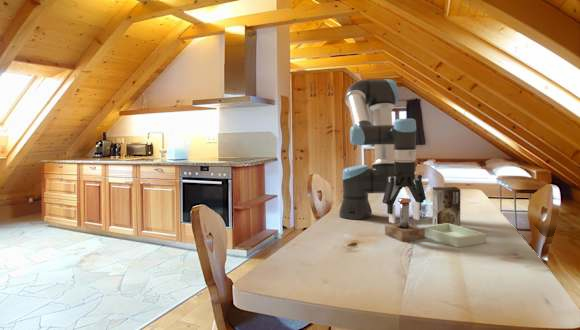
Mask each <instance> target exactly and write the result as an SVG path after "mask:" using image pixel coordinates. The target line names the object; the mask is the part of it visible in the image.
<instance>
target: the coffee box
mask: <svg viewBox="0 0 580 330" xmlns="http://www.w3.org/2000/svg"><path fill="white" fill-rule="evenodd" d="M444 223H450V224H453V225H457V226H461V189H460V188H458V187H456V186H436V187H435V186H433V187H432V225H437V224H444Z"/></svg>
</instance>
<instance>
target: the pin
mask: <svg viewBox="0 0 580 330" xmlns="http://www.w3.org/2000/svg"><path fill="white" fill-rule="evenodd" d="M397 202H398V203H399V224H400V228H401V229H409V224H410V203H412V199H411V198H407V197H403V198H401V197H400V198H398V201H397Z"/></svg>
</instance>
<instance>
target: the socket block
mask: <svg viewBox="0 0 580 330" xmlns="http://www.w3.org/2000/svg"><path fill="white" fill-rule="evenodd" d="M421 227H422V226H418V225H414V224H411V223H409V229H401V228H400V223H392V224H386V225H384V235H385V236H387V237H390V238H391V239H395V240H396V241H399V242H402V243H403V242H410V241H416V240H421V239H425V237H426V236H425V229H424V228H421Z"/></svg>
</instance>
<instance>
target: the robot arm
mask: <svg viewBox="0 0 580 330" xmlns="http://www.w3.org/2000/svg"><path fill="white" fill-rule="evenodd" d="M398 101H399V88H398V85H397V83H396V81H395V80H393V79H389V78H387V79H386V78H383V79H381V78H380V79H361V80H357V81H355V82H353V83H352V84H351V85H350V86H349V87H348V88H347V90H346V91H345V94H344V102H345V104H346V106H347V107H348V110H349V114H350V118H351V122H352V126H351V127H350V129H349V140H350V141H349V142H350V144H351V145H352V146H353V145H354V146H372V145H374V147H373V148H374V162H373V163H372V164H371V168H369V166H368V164H367V165H366V164H363V165H360V164H359V165H353V166H348V167H345V168H344V169H343V170H342V178H341V179H342V201H341V204H340V207H339V211H338V213H339V214H338V216H339V217H340V218H343V219H346V220H347V219H348V220H366V219H370V218H372V217H373V211H372V208H371V205H370V202H369V194H383V198H382V203H383V204H386V205H387V207H386V208H387V209H386V210H387V214H388V222H389V223H391V224H396V205H395V201H396V200H397V198H398V195H399V194H400V192H401V190H402V189H403V188H406V187H407V188H408V189H409V191H410V193H411V195H412V198H413V199H414V201H413V204H412V205H413V206H412V207H413V208H412V211H413V212H412V215H413V216H412V218H413V220H416V221H419V220H421V219H420V218H421V210H422V203H424V201H426V200H427V197H426V193H425V189H424V185H423V181H422V180H423V178H422V177H423V176H422V174H415V172H416V169H417V167H416V165H417V163H416V162H415V161H416V160H417V159H416V157H417V155H416V152H417V151H416V148H417V146H416V145H417V144H416V143H417V140H416V139H417V121H416V119H414V118H397V119H395V120H394V124H393V115H392V114H393V109H394V108H395V106H396V104H398ZM367 105H368V107H369V110H370V111H371V112H372V117H373V118H372V119H373V123H372V120H371V117H370V113H369V110H368V107H367Z"/></svg>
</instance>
